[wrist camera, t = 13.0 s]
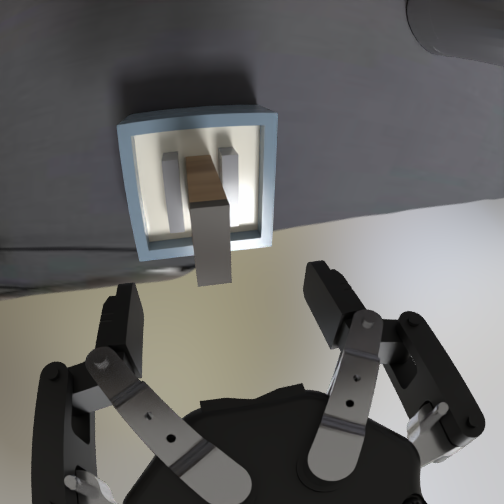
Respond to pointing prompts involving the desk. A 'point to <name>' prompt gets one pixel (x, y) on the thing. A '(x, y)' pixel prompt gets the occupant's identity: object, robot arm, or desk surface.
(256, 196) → the blue open box
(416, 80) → the desk surface
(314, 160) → the desk surface
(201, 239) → the wooden plank
